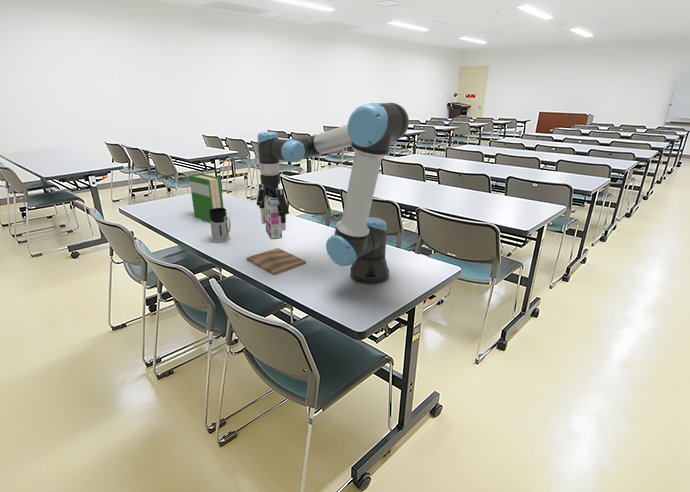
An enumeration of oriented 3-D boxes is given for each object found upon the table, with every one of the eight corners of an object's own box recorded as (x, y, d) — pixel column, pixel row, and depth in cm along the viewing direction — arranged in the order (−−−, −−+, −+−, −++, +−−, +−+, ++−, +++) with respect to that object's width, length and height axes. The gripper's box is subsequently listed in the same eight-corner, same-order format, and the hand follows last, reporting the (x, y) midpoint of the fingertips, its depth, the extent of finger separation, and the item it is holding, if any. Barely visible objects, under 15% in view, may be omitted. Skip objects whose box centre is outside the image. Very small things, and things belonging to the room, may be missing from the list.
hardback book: (225, 220, 215) (220, 177, 206) (213, 223, 209) (207, 179, 200) (206, 214, 225) (200, 173, 216) (194, 217, 219) (188, 175, 211)
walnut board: (305, 263, 162) (305, 260, 162) (273, 275, 152) (273, 272, 151) (277, 250, 175) (277, 247, 175) (246, 260, 165) (246, 257, 164)
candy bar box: (282, 238, 155) (280, 198, 149) (270, 240, 153) (267, 199, 147) (277, 229, 165) (275, 191, 159) (265, 231, 163) (262, 192, 157)
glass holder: (224, 235, 193) (221, 206, 187) (240, 242, 184) (237, 212, 178) (208, 239, 187) (204, 210, 181) (223, 247, 178) (220, 216, 172)
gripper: (245, 170, 155) (249, 221, 163) (280, 180, 139) (283, 236, 147) (261, 168, 160) (264, 218, 168) (297, 177, 144) (299, 231, 152)
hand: (273, 226), depth 158 cm, fingers closed on candy bar box, 12 cm apart
